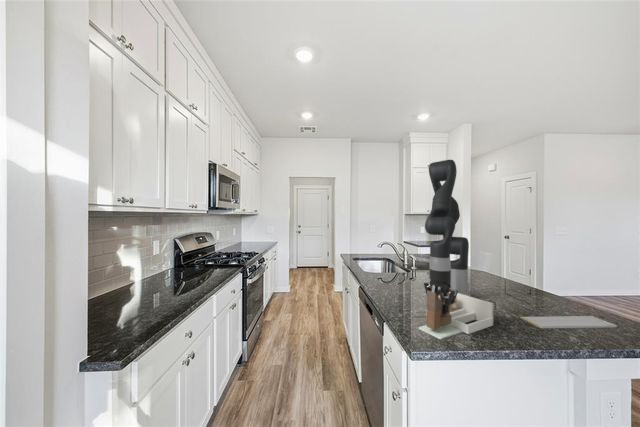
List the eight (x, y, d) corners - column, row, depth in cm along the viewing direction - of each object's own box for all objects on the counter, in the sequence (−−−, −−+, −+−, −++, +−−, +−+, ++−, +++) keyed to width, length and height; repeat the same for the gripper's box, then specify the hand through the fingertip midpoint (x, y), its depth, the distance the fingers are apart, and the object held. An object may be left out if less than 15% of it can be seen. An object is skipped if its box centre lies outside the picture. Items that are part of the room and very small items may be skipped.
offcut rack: (450, 309, 122) (450, 290, 122) (493, 325, 105) (493, 303, 105) (426, 316, 114) (426, 296, 114) (468, 334, 98) (468, 310, 98)
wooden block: (425, 326, 100) (427, 280, 99) (443, 320, 105) (444, 276, 104) (434, 330, 96) (435, 282, 96) (451, 324, 102) (453, 278, 101)
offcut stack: (448, 312, 119) (448, 293, 119) (458, 316, 115) (458, 296, 115) (435, 316, 115) (435, 295, 115) (445, 320, 110) (445, 299, 110)
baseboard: (517, 317, 115) (541, 330, 103) (517, 311, 114) (541, 322, 102) (585, 316, 115) (617, 329, 103) (585, 310, 115) (617, 321, 103)
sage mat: (439, 322, 108) (439, 321, 108) (461, 332, 99) (461, 330, 99) (418, 328, 102) (418, 327, 102) (440, 339, 93) (440, 337, 93)
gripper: (463, 270, 96) (463, 316, 96) (431, 264, 109) (431, 304, 109) (450, 273, 93) (450, 320, 93) (418, 265, 105) (418, 308, 105)
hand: (439, 312), depth 101 cm, fingers closed on wooden block, 3 cm apart
